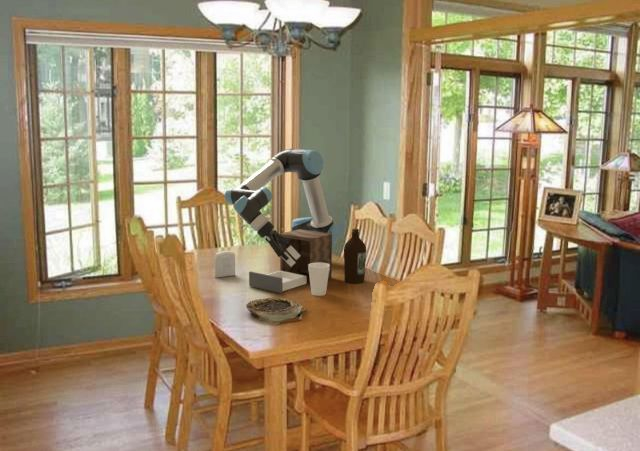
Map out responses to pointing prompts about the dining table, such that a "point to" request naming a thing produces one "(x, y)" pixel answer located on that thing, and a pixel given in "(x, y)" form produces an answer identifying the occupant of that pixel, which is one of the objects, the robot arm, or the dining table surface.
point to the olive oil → (354, 259)
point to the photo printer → (224, 264)
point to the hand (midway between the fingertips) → (296, 261)
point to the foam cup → (318, 277)
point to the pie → (274, 309)
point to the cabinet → (307, 250)
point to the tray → (276, 281)
